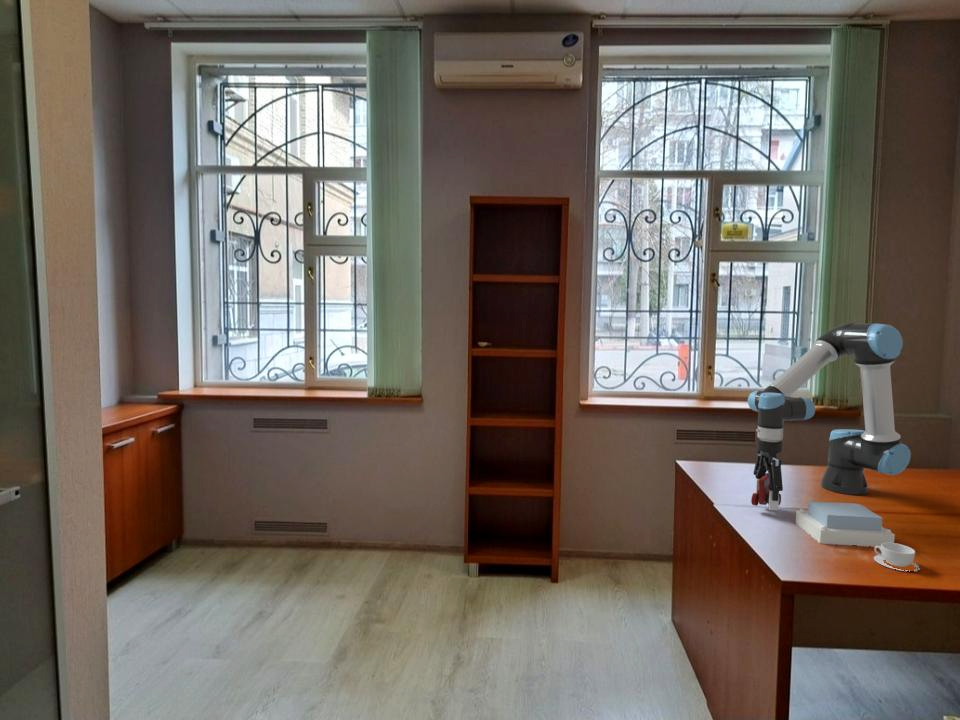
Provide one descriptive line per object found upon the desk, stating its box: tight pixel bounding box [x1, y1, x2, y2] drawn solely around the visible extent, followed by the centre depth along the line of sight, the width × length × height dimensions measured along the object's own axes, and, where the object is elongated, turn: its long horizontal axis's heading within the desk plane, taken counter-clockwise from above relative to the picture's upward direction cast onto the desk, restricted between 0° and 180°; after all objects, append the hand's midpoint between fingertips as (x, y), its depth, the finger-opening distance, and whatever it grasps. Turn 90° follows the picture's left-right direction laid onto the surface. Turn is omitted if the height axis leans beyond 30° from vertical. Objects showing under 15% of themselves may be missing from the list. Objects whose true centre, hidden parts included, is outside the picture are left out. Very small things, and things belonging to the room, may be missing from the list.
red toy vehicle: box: [750, 472, 782, 507], centre depth 188 cm, size 7×12×10 cm, turn 137°
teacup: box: [873, 542, 921, 573], centre depth 151 cm, size 10×10×5 cm
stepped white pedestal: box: [795, 500, 896, 548], centre depth 170 cm, size 20×16×8 cm
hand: (766, 503), depth 189 cm, fingers closed on red toy vehicle, 11 cm apart
